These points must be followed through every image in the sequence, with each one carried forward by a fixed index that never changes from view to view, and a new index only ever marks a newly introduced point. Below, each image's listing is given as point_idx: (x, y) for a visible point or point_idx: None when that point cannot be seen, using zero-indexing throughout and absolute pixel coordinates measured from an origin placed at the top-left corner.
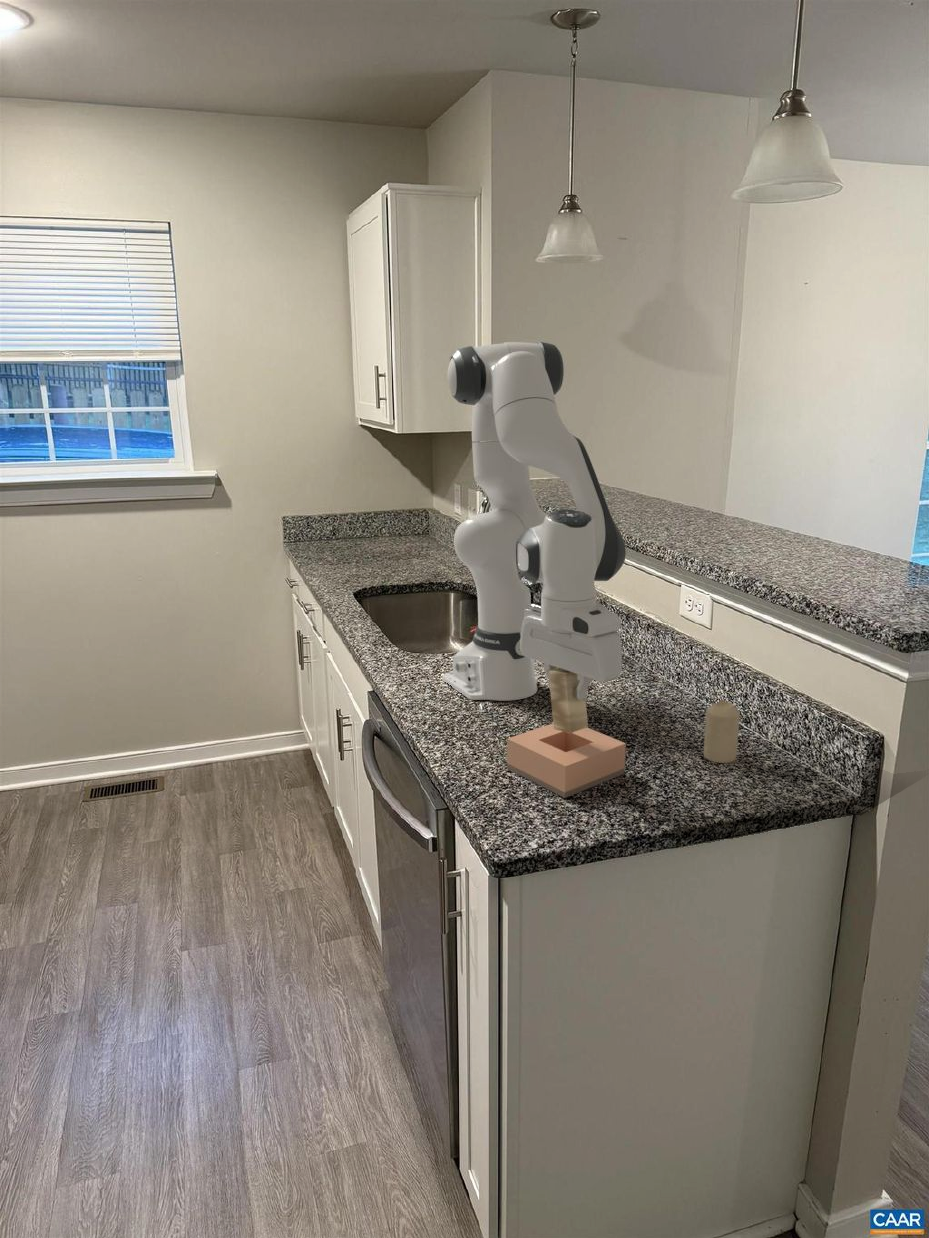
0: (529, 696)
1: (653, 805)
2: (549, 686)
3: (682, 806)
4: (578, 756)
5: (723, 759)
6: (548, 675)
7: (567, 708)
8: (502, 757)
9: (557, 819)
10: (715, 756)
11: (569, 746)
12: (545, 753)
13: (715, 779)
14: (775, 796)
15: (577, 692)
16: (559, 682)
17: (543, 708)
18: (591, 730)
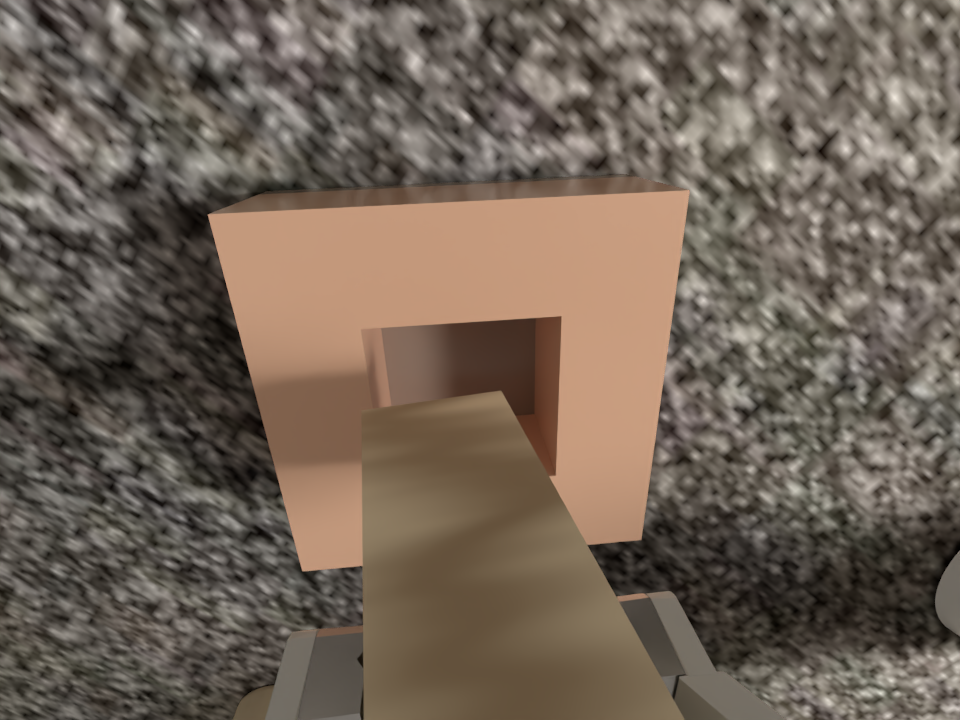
0: (938, 585)
1: (76, 413)
2: (671, 606)
3: (35, 476)
4: (284, 346)
5: (238, 708)
6: (741, 715)
7: (373, 508)
8: (711, 228)
9: (99, 18)
10: (252, 706)
11: None
12: (407, 235)
13: (166, 636)
14: (9, 678)
15: (295, 689)
16: (486, 700)
17: (850, 569)
18: None
